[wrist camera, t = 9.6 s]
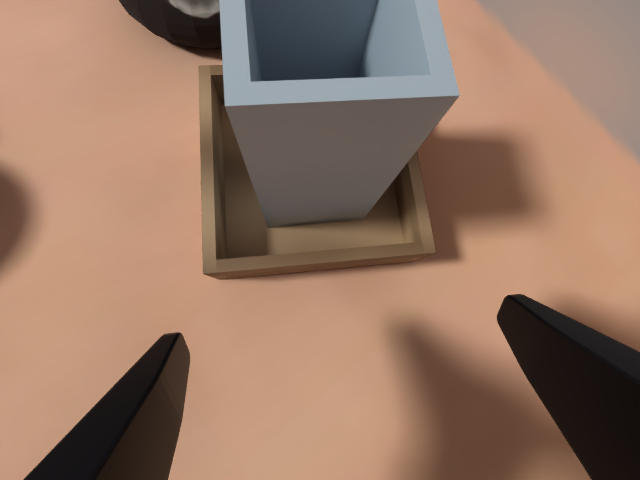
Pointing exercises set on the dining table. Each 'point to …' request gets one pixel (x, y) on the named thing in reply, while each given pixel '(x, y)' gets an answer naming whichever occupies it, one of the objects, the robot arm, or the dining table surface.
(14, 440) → the dining table surface
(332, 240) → the shallow brown tray
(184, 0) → the donut
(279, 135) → the tall grey bin
